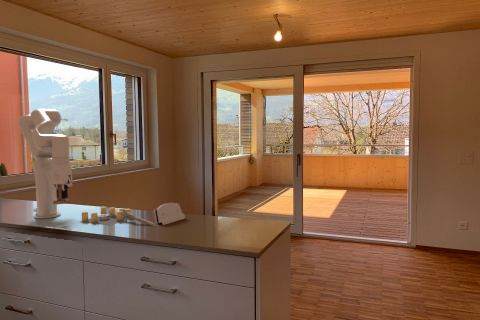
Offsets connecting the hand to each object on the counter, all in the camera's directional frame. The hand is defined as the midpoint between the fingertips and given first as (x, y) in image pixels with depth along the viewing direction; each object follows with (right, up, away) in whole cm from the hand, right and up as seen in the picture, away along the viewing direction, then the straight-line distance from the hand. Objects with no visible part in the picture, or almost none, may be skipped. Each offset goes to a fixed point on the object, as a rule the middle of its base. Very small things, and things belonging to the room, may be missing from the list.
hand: (62, 197), depth 176 cm
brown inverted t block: (0, -3, 0) cm, 3 cm away
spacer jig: (+19, -12, +7) cm, 24 cm away
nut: (+17, -12, +8) cm, 22 cm away
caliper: (+37, -13, 0) cm, 40 cm away
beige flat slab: (+51, -13, +6) cm, 53 cm away
